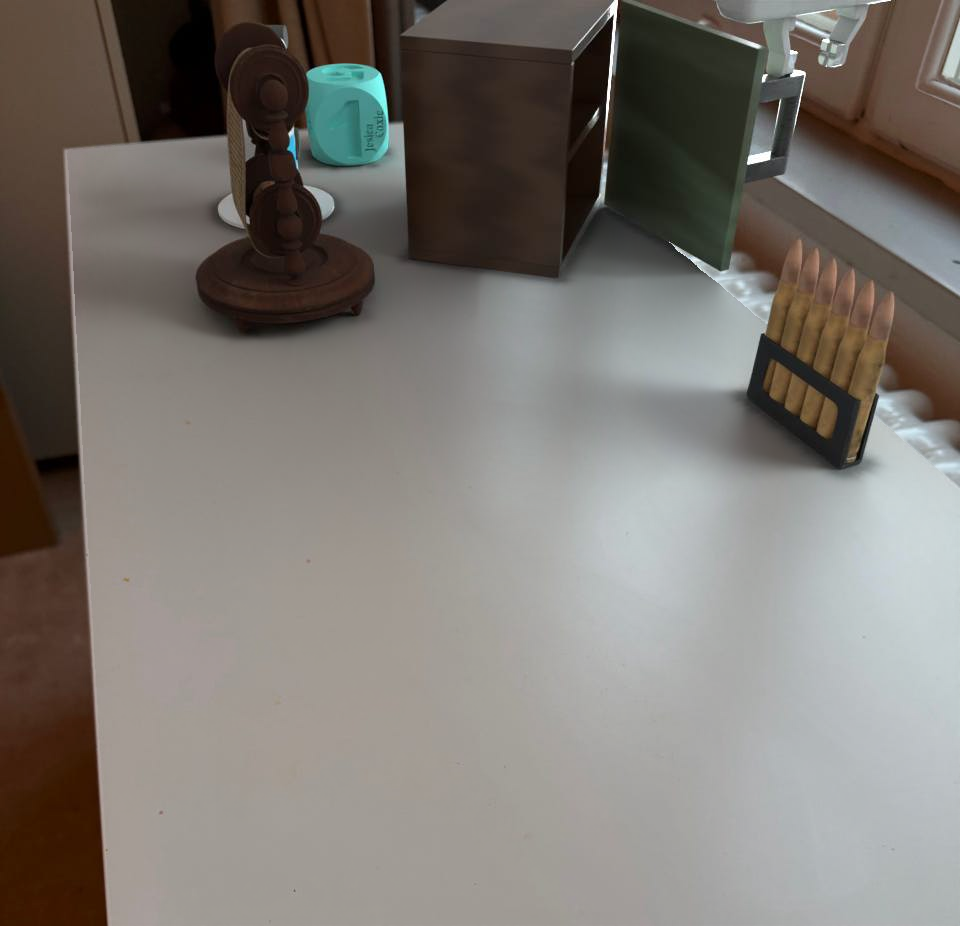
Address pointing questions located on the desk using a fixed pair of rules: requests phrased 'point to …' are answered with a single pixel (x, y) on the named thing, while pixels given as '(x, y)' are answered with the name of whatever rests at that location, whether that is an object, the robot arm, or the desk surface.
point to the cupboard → (505, 130)
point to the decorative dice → (347, 114)
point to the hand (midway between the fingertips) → (805, 70)
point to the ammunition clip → (822, 358)
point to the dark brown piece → (274, 199)
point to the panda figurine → (324, 199)
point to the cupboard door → (690, 128)
